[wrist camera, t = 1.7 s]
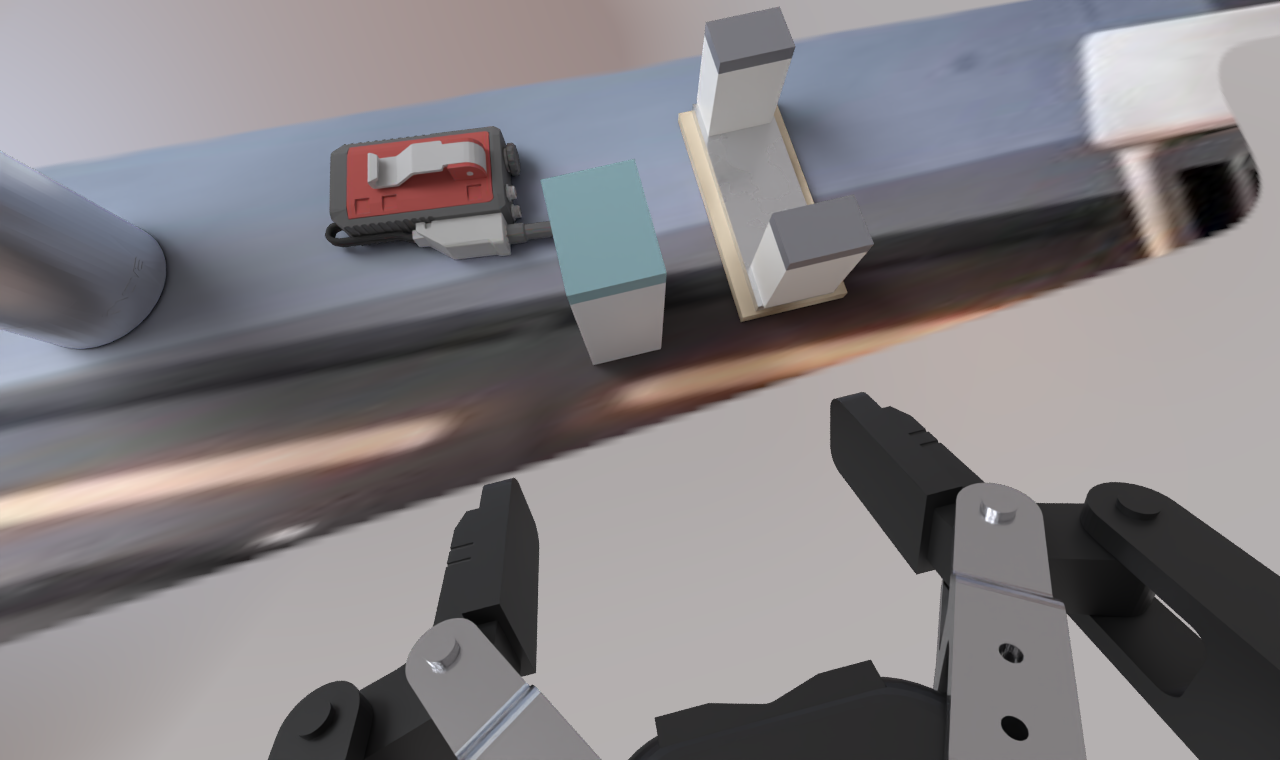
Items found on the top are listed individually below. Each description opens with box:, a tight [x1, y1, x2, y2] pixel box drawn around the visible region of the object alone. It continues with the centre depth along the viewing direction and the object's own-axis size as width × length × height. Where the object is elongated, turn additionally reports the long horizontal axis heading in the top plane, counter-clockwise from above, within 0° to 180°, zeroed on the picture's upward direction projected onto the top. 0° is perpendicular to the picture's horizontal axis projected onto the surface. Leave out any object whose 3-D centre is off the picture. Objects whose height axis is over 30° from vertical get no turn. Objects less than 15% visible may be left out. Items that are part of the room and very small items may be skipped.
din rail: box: [692, 104, 837, 311], centre depth 34 cm, size 5×16×1 cm, turn 14°
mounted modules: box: [697, 7, 874, 308], centre depth 31 cm, size 4×16×6 cm, turn 14°
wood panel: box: [678, 105, 847, 322], centre depth 35 cm, size 7×16×1 cm, turn 14°
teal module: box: [541, 159, 667, 365], centre depth 29 cm, size 4×6×11 cm
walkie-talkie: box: [325, 126, 553, 260], centre depth 34 cm, size 9×4×20 cm
